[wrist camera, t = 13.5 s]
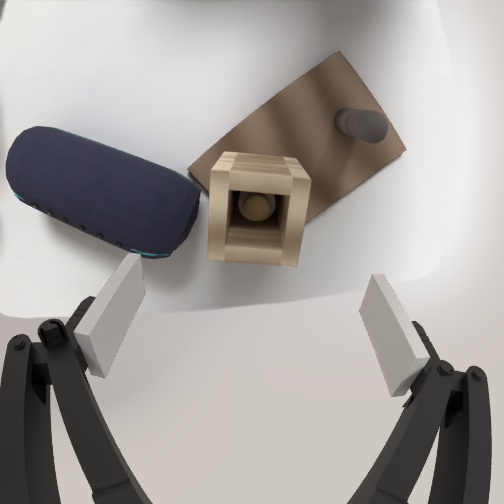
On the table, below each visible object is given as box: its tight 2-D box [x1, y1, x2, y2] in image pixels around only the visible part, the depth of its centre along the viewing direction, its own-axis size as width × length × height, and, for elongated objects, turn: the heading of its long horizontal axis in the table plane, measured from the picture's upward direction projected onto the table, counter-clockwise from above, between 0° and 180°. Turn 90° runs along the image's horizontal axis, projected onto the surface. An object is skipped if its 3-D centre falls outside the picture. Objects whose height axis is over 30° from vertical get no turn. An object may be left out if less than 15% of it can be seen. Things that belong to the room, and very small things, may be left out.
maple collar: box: [208, 152, 312, 267], centre depth 29 cm, size 8×8×10 cm
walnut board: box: [188, 51, 407, 224], centre depth 28 cm, size 22×14×9 cm, turn 130°
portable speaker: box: [6, 126, 201, 259], centre depth 29 cm, size 25×10×10 cm, turn 66°
